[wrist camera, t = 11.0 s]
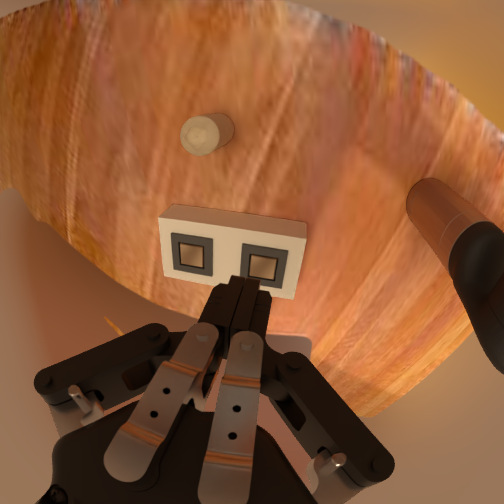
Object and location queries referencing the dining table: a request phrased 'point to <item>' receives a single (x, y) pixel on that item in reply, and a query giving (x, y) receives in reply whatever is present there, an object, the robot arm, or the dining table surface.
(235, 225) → the socket board
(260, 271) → the peg
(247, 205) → the dining table surface
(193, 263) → the peg
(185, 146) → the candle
